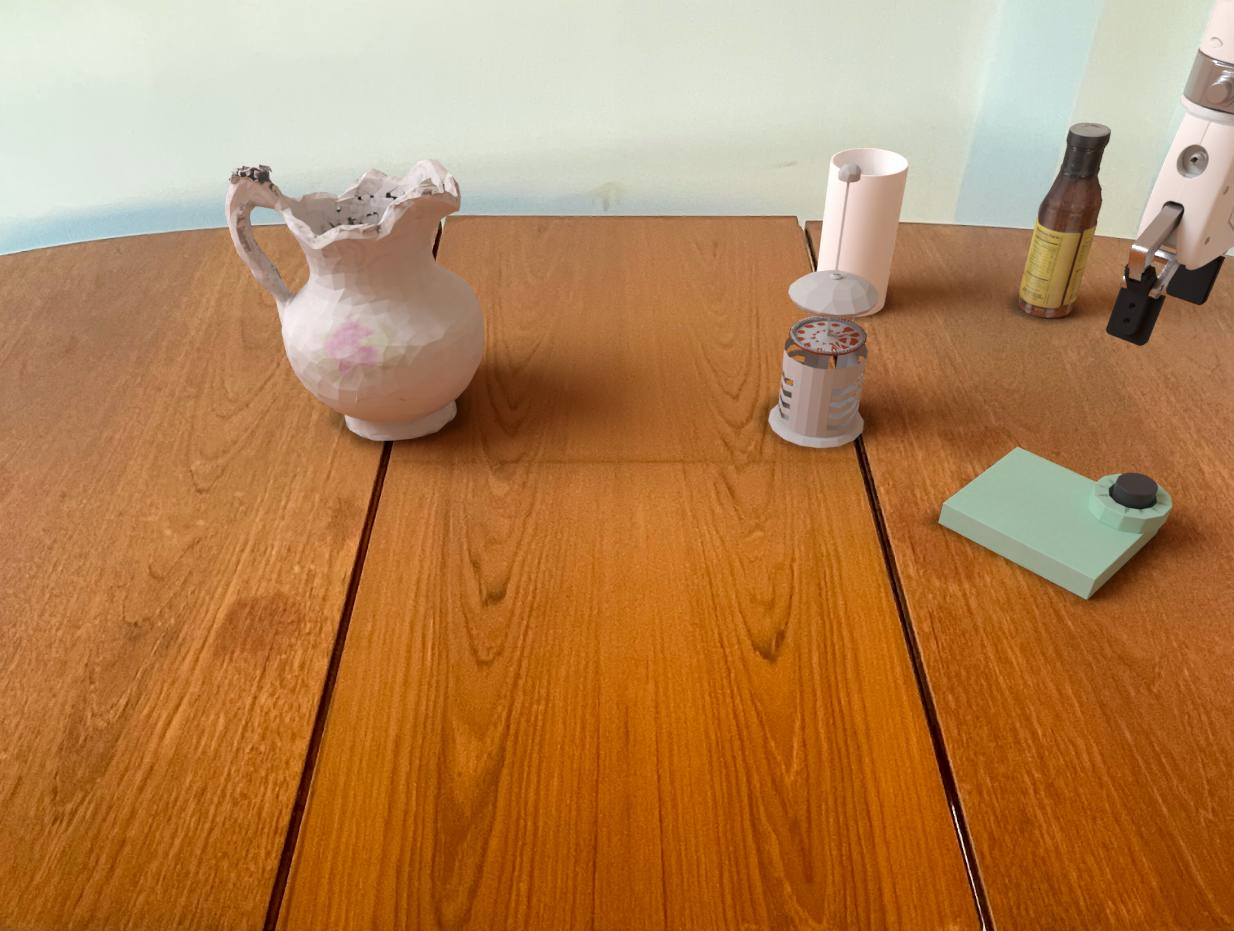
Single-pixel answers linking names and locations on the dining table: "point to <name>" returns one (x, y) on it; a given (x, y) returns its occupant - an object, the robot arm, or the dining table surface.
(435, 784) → the dining table surface
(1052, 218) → the sauce bottle
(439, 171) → the ceramic pitcher
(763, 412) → the dining table surface
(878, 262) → the white cylinder
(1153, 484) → the tare button
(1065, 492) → the scale
